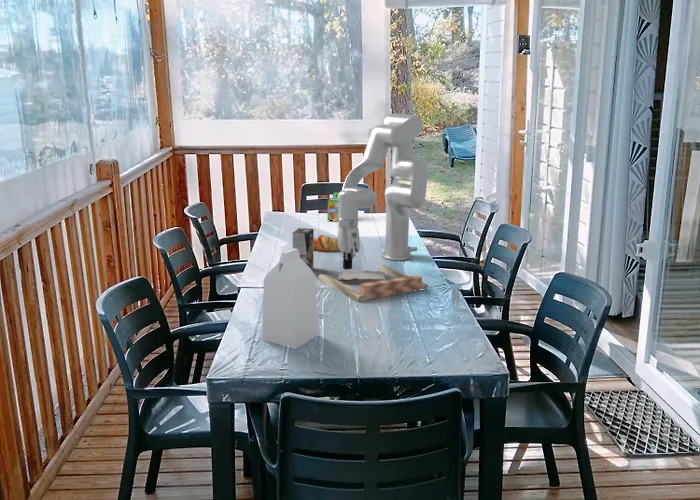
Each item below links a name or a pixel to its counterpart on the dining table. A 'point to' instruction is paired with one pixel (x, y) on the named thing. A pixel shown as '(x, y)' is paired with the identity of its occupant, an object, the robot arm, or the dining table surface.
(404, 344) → the dining table surface
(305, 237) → the coffee box
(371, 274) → the washcloth
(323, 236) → the croissant
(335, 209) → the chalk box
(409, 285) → the wooden frame
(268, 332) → the milk
